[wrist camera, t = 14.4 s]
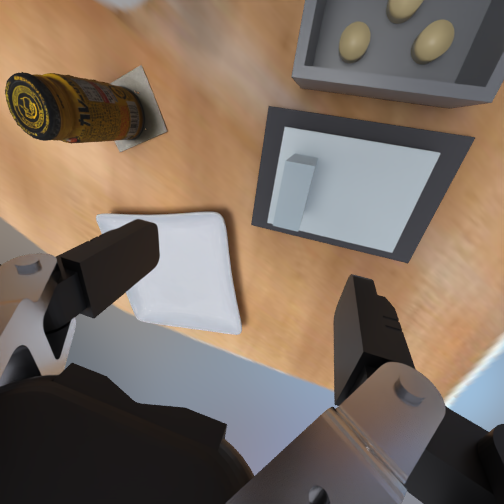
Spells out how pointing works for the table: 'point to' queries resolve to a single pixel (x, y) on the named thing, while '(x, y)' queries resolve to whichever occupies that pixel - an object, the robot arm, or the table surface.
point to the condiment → (85, 108)
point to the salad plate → (185, 273)
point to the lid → (347, 187)
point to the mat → (444, 143)
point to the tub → (403, 50)
